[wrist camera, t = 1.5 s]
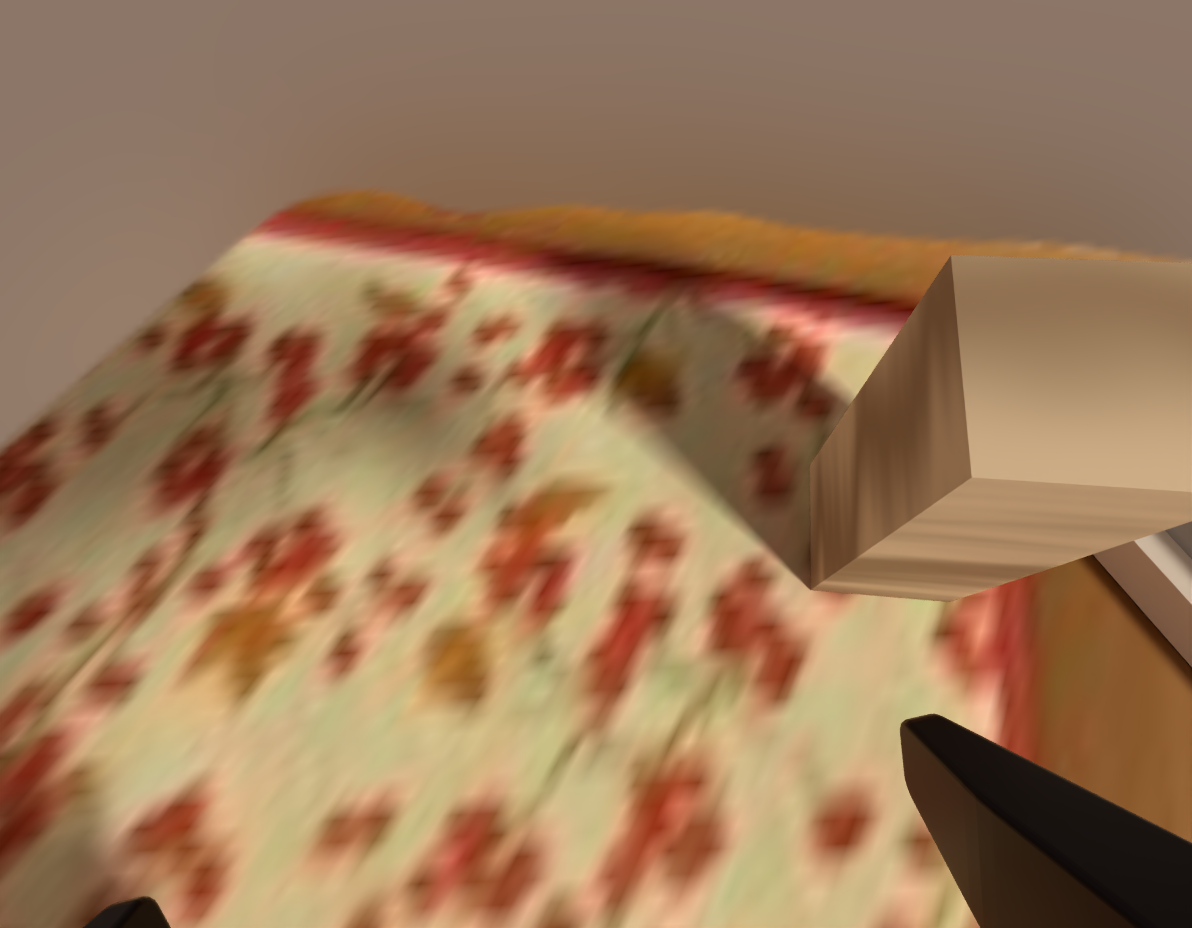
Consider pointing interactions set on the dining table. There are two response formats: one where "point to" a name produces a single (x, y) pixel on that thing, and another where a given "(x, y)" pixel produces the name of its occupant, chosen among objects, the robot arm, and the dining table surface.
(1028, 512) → the post
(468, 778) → the dining table surface
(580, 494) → the dining table surface
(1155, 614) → the ridge
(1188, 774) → the dining table surface
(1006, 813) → the robot arm
